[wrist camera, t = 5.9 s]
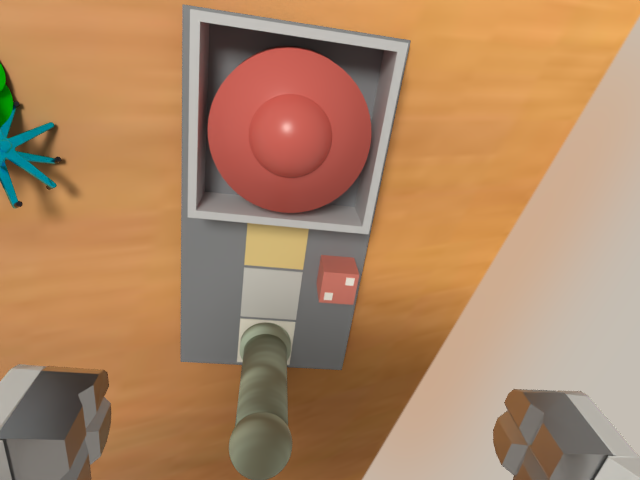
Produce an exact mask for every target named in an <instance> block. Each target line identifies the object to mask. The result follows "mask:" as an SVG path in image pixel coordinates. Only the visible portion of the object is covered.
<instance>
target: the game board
mask: <svg viewBox="0 0 640 480" xmlns="http://www.w3.org/2000/svg"><path fill="white" fill-rule="evenodd" d="M410 41H411V40H405V39H399V38H392V37H386V36H380V35H373V34H367V33H360V32H354V31H348V30H341V29H335V28H329V27H322V26H316V25H310V24H303V23H297V22H291V21H284V20H278V19H271V18H265V17H259V16H252V15H246V14H240V13H233V12H227V11H221V10H214V9H208V8H202V7H195V6H189V5H183V32H182V210H181V362H198V363H217V364H237V365H242V362H243V360H242V358H241V356H240V342H241V337H242V335H243V333H244V332H245V331H246V330H247V329H248V328H249V327H251V326H253V325H255V324H258V323H274V324H277V325H279V326H281V327H282V328H284V329H285V330H286V331H287V333H288V334H289V336H290V341H291V353H290V356H289V358H288V360H287V367H295V368H314V369H333V370H342V366H343V361H344V356H345V352H346V347H347V342H348V337H349V333H350V328H351V323H352V318H353V313H354V309H355V304H356V299H357V294H358V290H359V285H360V280H361V275H362V270H363V266H364V261H365V256H366V251H367V247H368V242H369V237H370V232H371V227H372V223H373V218H374V213H375V208H376V204H377V199H378V194H379V189H380V184H381V180H382V175H383V170H384V165H385V161H386V156H387V151H388V146H389V141H390V137H391V132H392V127H393V122H394V118H395V113H396V108H397V103H398V98H399V94H400V89H401V84H402V79H403V75H404V70H405V65H406V60H407V55H408V51H409V46H410ZM278 46H296V47H302V48H307V49H310V50H313V51H315V52H318V53H320V54H322V55H323V56H325V57H327V58H328V59H330V60H331V61H333V62H334V63H335V64H337V65H338V66H339V67H341V68H342V69H343V70H344V71H345V72H346V73H347V74H348V75H349V76H350V77H351V78H352V79H353V81H354V82H355V83H356V84H357V86H358V88H359V89H360V91H361V93H362V94H363V97H364V99H365V101H366V104H367V107H368V110H369V114H370V120H371V144H370V149H369V153H368V157H367V160H366V162H365V165H364V167H363V169H362V171H361V173H360V174H359V176H358V177H357V179H356V180H355V181H354V183H353V184H352V185H351V186H350V187H349V188H348V189H347V191H345V192H344V193H343V194H342V195H341V196H339V197H338V198H337V199H335V200H333V201H332V202H330V203H328V204H326V205H324V206H322V207H320V208H317V209H314V210H310V211H305V212H298V213H282V212H276V211H271V210H267V209H264V208H261V207H259V206H257V205H254V204H252V203H251V202H249V201H247V200H245V199H244V198H243V197H241V196H240V195H239V194H237V193H236V192H235V191H234V190H233V189H232V188H231V187H230V186H229V185H228V184H227V182H226V181H225V180H224V179H223V177H222V176H221V174H220V172H219V171H218V169H217V167H216V165H215V163H214V160H213V158H212V154H211V151H210V147H209V141H208V118H209V113H210V109H211V105H212V102H213V100H214V97H215V95H216V93H217V91H218V89H219V88H220V86H221V84H222V83H223V82H224V80H225V79H226V78H227V77H228V75H229V74H230V73H231V72H232V71H233V70H234V69H235V68H236V67H237V66H239V65H240V64H241V63H242V62H243V61H244V60H246V59H247V58H248V57H250V56H252V55H254V54H256V53H258V52H260V51H263V50H265V49H268V48H273V47H278Z"/></svg>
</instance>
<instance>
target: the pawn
mask: <svg viewBox="0 0 640 480" xmlns="http://www.w3.org/2000/svg"><path fill="white" fill-rule="evenodd" d="M290 353H291V341H290V336H289V334H288V333H287V331H286V330H285V329H284V328H282V327H281V326H279V325H277V324H274V323H258V324H255V325H253V326H251V327H249V328H248V329H247V330H246V331H245V332H244V333H243V335H242V337H241V342H240V356H241V358H242V360H243V362H242V371H241V380H240V389H239V398H238V406H237V415H236V424H235V428H234V430H233V431H232V434H231V437H230V441H229V454H230V458H231V461H232V463H233V465H234V467H235V468H236V470H237V471H238V472H239V473H240V474H241V475H243V476H244V477H246V478H248V479H251V480H266V479H269V478H272V477H274V476H275V475H277V474H278V473H279V472H280V471H282V469H283V468H284V467H285V466H286V464H287V462H288V460H289V458H290V455H291V451H292V436H291V433H290V430H289V428H288V402H287V360H288V358H289V356H290Z"/></svg>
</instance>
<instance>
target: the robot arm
mask: <svg viewBox="0 0 640 480" xmlns="http://www.w3.org/2000/svg"><path fill="white" fill-rule="evenodd" d="M108 387H109V381H108V373H107V372H106V371H105V370H98V369H84V368H70V367H56V366H47V367H45V366H33V365H20V364H19V365H17V366H15V367H13V368H12V369H10V370H9V371H8V373H7V374H6V375H5V376H4V378H3V379H2V380H1V381H0V480H91V470H90V464H92V463H93V462H94V461H95V460H97V459H98V458H99V457H100V456H101V454H102V452H103V449H104V447H105V444H106V442H107V438H108V433H109V429H110V424H111V403H110V402H109V401H108V400H107V399H106V398H105V397H104V396H105V394H106V392H107V389H108ZM504 403H505V405H506V408H507V410H508V411H507V412H505V413H504V414H503V415H501V416H500V417H499V418H498V419H497V421H496V424H495V427H494V429H493V438H494V439H493V442H494V447H495V451H496V454H497V456H498V458H499V460H500V462H501V465H502V466H503V467H505V468H506V469H507V470H508V471H510V472H511V473H512V474H513V475H514V477H513V480H640V457H639V455H638V454H637V453H636V452H635V451H634V449H633V448H632V447H631V446H630V445H629V444H628V442H627V441H626V440H625V439H624V438H623V436H622V435H621V434H620V433H619V432H618V430H617V429H616V428H615V427H614V426H613V424H612V423H611V422H610V421H609V420H608V418H607V417H606V416H605V415H604V414H603V413H602V411H601V410H600V409H599V408H598V407H597V405H596V404H595V403H594V402H593V401H592V399H591V398H590V397H589V396H588V395H586V394H584V393H583V392H581V391H547V390H521V389H514V390H512V391H511V392H510V393H509V394H508V396H507V398H506V400H505V402H504Z"/></svg>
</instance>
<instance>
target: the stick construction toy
mask: <svg viewBox="0 0 640 480" xmlns="http://www.w3.org/2000/svg"><path fill="white" fill-rule="evenodd" d="M5 82H6V77H5V72H4V69H3V67H2V65H1V63H0V181H1V183H2V186H3V188H4V190H5V192H6V194H7V196H8V199H9V201H10V203H11V205H12V207H13V208H18V207H21V206H22V202H20V201H18V199H17V196H16V193H15V190H14V187H13V184H12V181H11V178H10V175H9V172H8V170H7V167H6V164H5V160H10V161H11V162H13V163H14V164H16V165H17V166H19V167H20V168H22V169H23V170H25V171H26V172H28V173H29V174H31V175H32V176H34V177H35V178H37V179H38V180H40V181H41V182H43V183H44V184H46V185H47V186H46V188H47V189H48V190H51V189H53V188H55V187H56V183H54V182H53V181H52V180H51V179H50V178H48V177H47V176H46V175H45V174H43V173H42V172H41V171H40V170H38V169H37V168H36V167H35V166H33V165H32V164H31V163H30V162H37V163H48V164H56V163H58V162H60V161H61V158H60V157H56V158H50V157H45V156H40V155H34V154H29V153H24V152H19V151H16V150H15V148H16V147H18V146H19V145H21V144H23V143H25V142H27V141H29V140H31V139H33V138H34V137H36V136H38V135H40V134H42V133H44V132H46V131H48V130H50V129H51V128H53V127H54V124H53V123H52V122H50V123H47V124H45V125H42V126H39V127H37V128H34V129H31V130H29V131H26V132H24V133H21V134H18V135H16V136H13V137H11V138H7V136H8V133H9V130H10V127H11V123H12V120H13V117H14V114H15V111H16V108H17V107H18V106H19V102H17V101H14V102H13V98H12V95H11V92H10V90H9V88H8V86H7V85H6V84H5Z"/></svg>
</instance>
